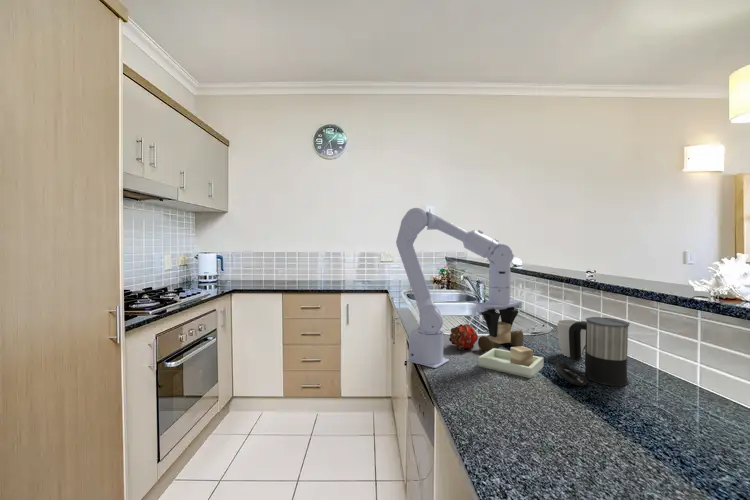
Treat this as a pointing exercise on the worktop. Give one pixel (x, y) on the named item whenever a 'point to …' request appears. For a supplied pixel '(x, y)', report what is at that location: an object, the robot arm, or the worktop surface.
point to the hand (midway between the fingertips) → (499, 335)
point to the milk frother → (598, 352)
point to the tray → (501, 362)
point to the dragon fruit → (463, 336)
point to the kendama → (488, 345)
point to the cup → (564, 336)
